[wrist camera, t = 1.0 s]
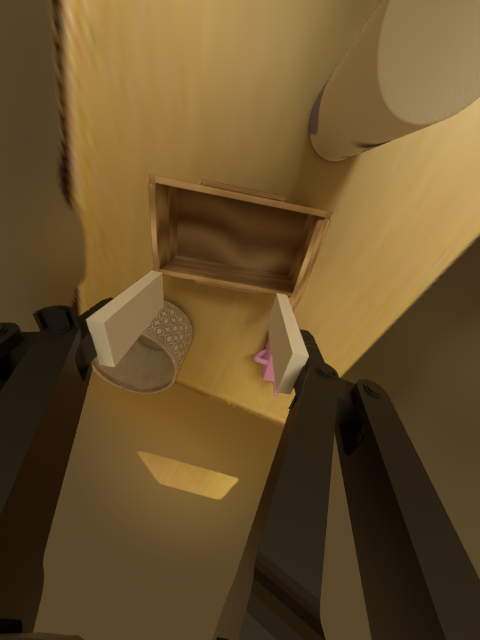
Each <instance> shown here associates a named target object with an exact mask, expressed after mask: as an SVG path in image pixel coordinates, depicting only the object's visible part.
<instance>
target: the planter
mask: <svg viewBox="0 0 480 640" xmlns="http://www.w3.org/2000/svg"><path fill="white" fill-rule="evenodd" d="M192 338H193V329H192V325H191V323H190V321H189V319H188V317H187V316H186V315H185V313H184V312H183V311H182V310H181V309H179V308H178V307H177V306H175V305H174V304H172V303H170V302H168V301H166V300H164V306H163V307H162V309H161V310H160V311H159V312H158V314H157V315H156V316H155V317H154V319H153V320H152V321H151V322H150V324H149V325H148V326H147V327H146V329H145V330H144V331H143V332H142V334H141V335H140V336H139V337H138V339H137V340H136V341H135V342H134V344H133V345H132V346H131V347H130V349H129V350H128V351H127V352H126V354H125V355H124V356H123V357H122V359H121V360H120V361H119V362H118V364H117V365H116V366H115V367H110V366H104V365H99V362H98V358H97V357H96V358H95V359H94V360H93V361H92V362H91V363H92V367H93V370H94V371H95V372H96V373H97V374H98V375H99V376H100V377H101V378H102V379H104V380H105V381H107V382H108V383H110V384H112V385H113V386H115V387H118V388H120V389H122V390H126V391H129V392H133V393H140V394H153V393H159V392H162V391H164V390H166V389H168V388H169V387H170V386H172V384H173V383H174V382H175V380H176V378H177V376H178V373H179V371H180V369H181V366H182V364H183V361H184V359H185V356H186V354H187V352H188V349H189V347H190V344H191V342H192Z"/></svg>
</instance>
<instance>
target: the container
mask: <svg viewBox="0 0 480 640" xmlns="http://www.w3.org/2000/svg"><path fill="white" fill-rule="evenodd" d="M479 97H480V0H381V1H380V3H379V4H378V6H377V7H376V9H375V11H374V12H373V14H372V15H371V17H370V18H369V20H368V21H367V23H366V24H365V26H364V27H363V29H362V30H361V32H360V33H359V35H358V36H357V38H356V39H355V41H354V42H353V44H352V45H351V47H350V48H349V50H348V51H347V53H346V54H345V56H344V57H343V59H342V60H341V62H340V63H339V65H338V66H337V68H336V69H335V71H334V72H333V74H332V75H331V77H330V78H329V80H328V81H327V83H326V84H325V86H324V87H323V89H322V90H321V92H320V94H319V95H318V97H317V99H316V101H315V104H314V106H313V109H312V113H311V117H310V125H309V131H310V139H311V143H312V145H313V147H314V149H315V151H316V152H317V154H318V155H319V156H321V157H322V158H323V159H325V160H328V161H342V160H345V159H347V158H350V157H352V156H355V155H357V154H360V153H362V152H365V151H367V150H370V149H372V148H375V147H377V146H380V145H382V144H385V143H387V142H390V141H392V140H395V139H397V138H400V137H403V136H405V135H408V134H410V133H413V132H415V131H418V130H420V129H423V128H425V127H428V126H430V125H433V124H435V123H438V122H440V121H443V120H445V119H447V118H450V117H452V116H453V115H455V114H457V113H459V112H460V111H462V110H463V109H465V108H466V107H467V106H469V105H470V104H471V103H473V102H474V101H475V100H476V99H477V98H479Z"/></svg>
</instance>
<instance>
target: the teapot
mask: <svg viewBox="0 0 480 640" xmlns="http://www.w3.org/2000/svg"><path fill="white" fill-rule="evenodd" d="M254 361H255V362H257V363H260V364H262V378H263V380H266V381H272V382H273V383H274V393H273V394H274V396H277V395H278V393H279V392H276V385H275V377H274V369H273V362H272V354H271V346H270V339H269V335H268V338H267V341H266V344H265V347H264V350H263V351H260V352H258V353H257V354H255V356H254Z"/></svg>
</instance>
